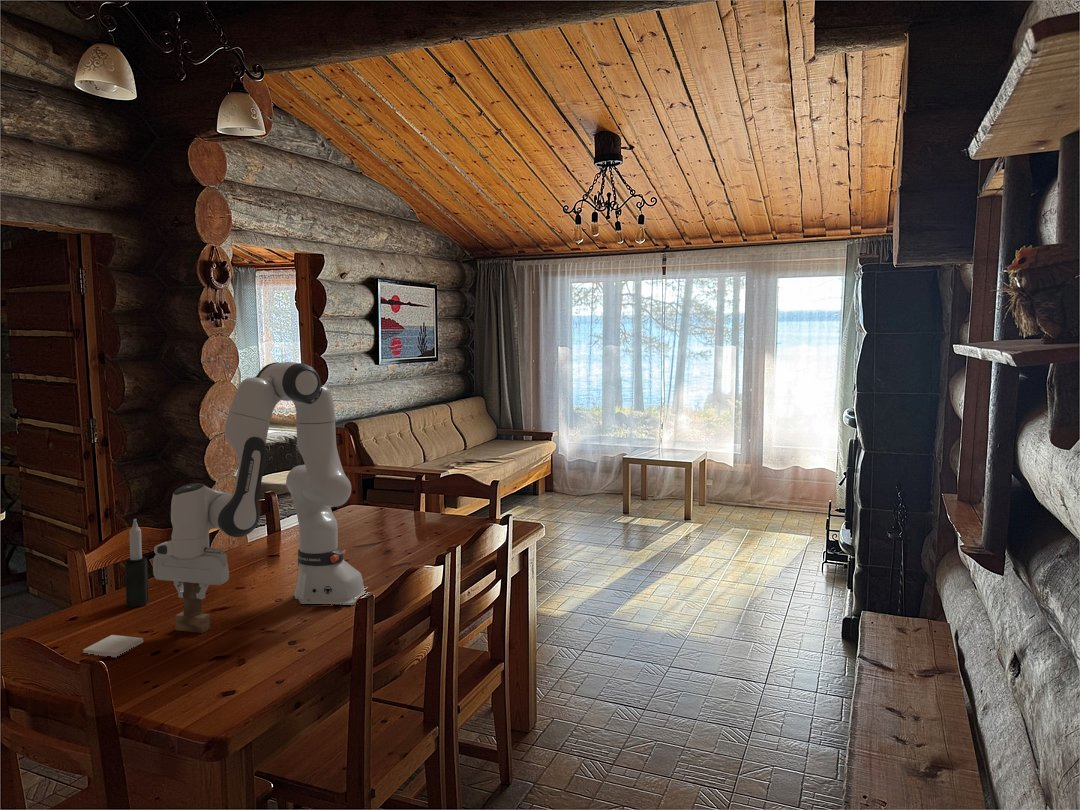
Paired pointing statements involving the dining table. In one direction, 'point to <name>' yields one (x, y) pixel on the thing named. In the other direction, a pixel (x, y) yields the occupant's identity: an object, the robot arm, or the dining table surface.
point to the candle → (136, 571)
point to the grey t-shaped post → (192, 611)
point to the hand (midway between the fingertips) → (191, 597)
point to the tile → (113, 645)
